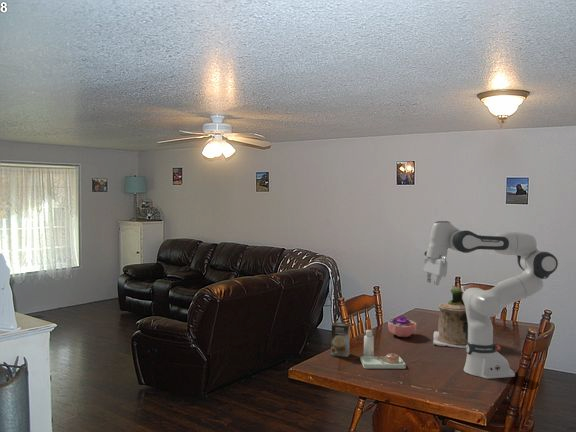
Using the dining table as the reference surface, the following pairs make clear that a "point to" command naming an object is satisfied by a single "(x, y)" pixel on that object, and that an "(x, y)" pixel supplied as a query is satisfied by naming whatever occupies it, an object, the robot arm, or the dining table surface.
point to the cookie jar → (452, 322)
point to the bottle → (369, 344)
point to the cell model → (402, 326)
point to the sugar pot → (392, 358)
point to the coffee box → (340, 339)
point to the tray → (380, 363)
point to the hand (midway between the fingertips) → (432, 283)
